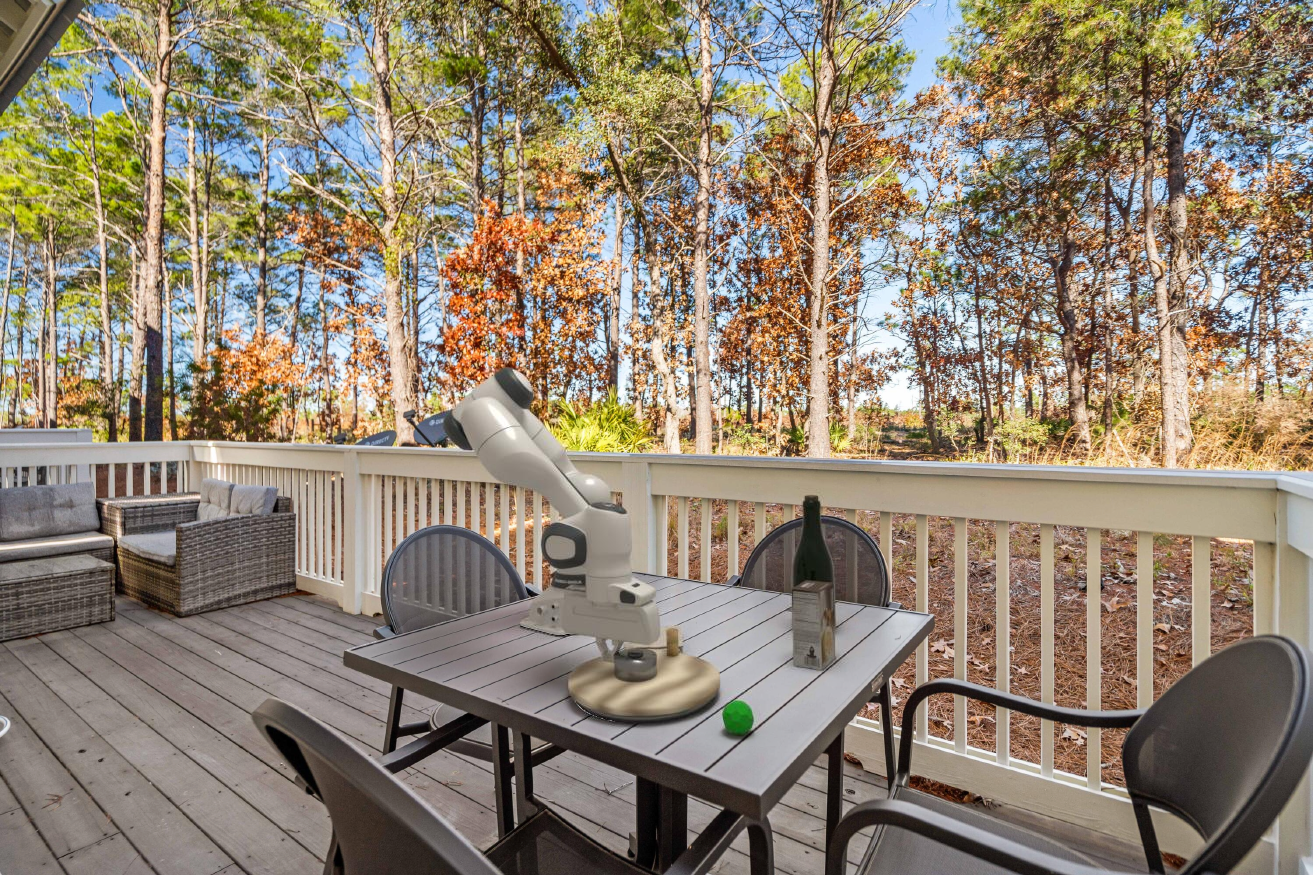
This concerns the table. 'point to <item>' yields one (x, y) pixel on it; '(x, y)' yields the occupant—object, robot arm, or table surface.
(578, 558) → the robot arm
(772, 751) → the table surface
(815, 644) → the coffee box
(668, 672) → the turntable
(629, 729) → the table surface
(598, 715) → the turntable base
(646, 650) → the iron cover
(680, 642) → the washcloth
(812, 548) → the wine bottle
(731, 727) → the polyhedron
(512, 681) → the table surface
